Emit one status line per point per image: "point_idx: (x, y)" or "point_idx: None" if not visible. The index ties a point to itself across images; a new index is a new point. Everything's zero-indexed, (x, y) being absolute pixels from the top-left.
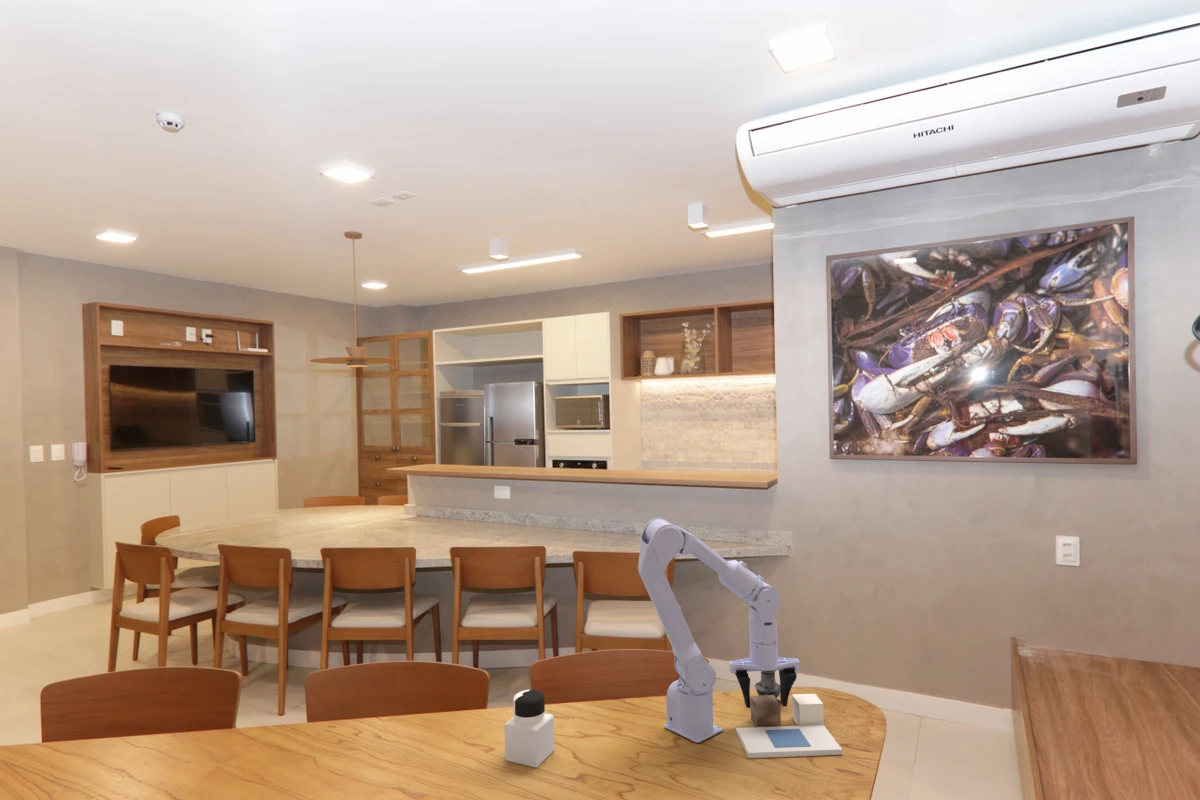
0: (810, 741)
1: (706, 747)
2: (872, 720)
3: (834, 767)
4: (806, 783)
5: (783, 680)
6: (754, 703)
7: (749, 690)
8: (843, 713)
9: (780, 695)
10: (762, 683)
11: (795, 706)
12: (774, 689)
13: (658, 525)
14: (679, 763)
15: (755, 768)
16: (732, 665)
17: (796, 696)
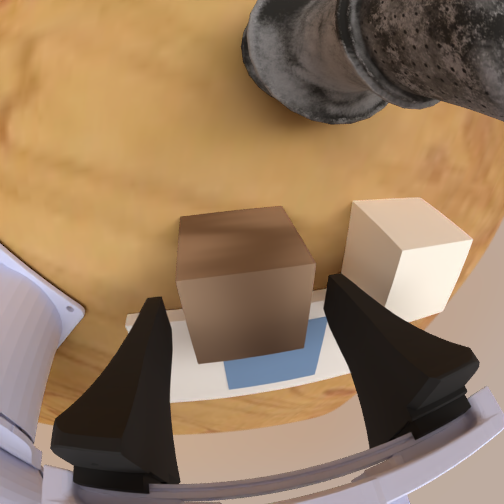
0: (324, 358)
1: (70, 364)
2: (497, 223)
3: (325, 389)
4: (259, 421)
5: (372, 403)
6: (192, 341)
7: (170, 415)
8: (480, 183)
9: (342, 293)
10: (305, 60)
11: (374, 271)
12: (359, 105)
13: None
14: (48, 395)
15: (179, 409)
16: None
17: (407, 269)
